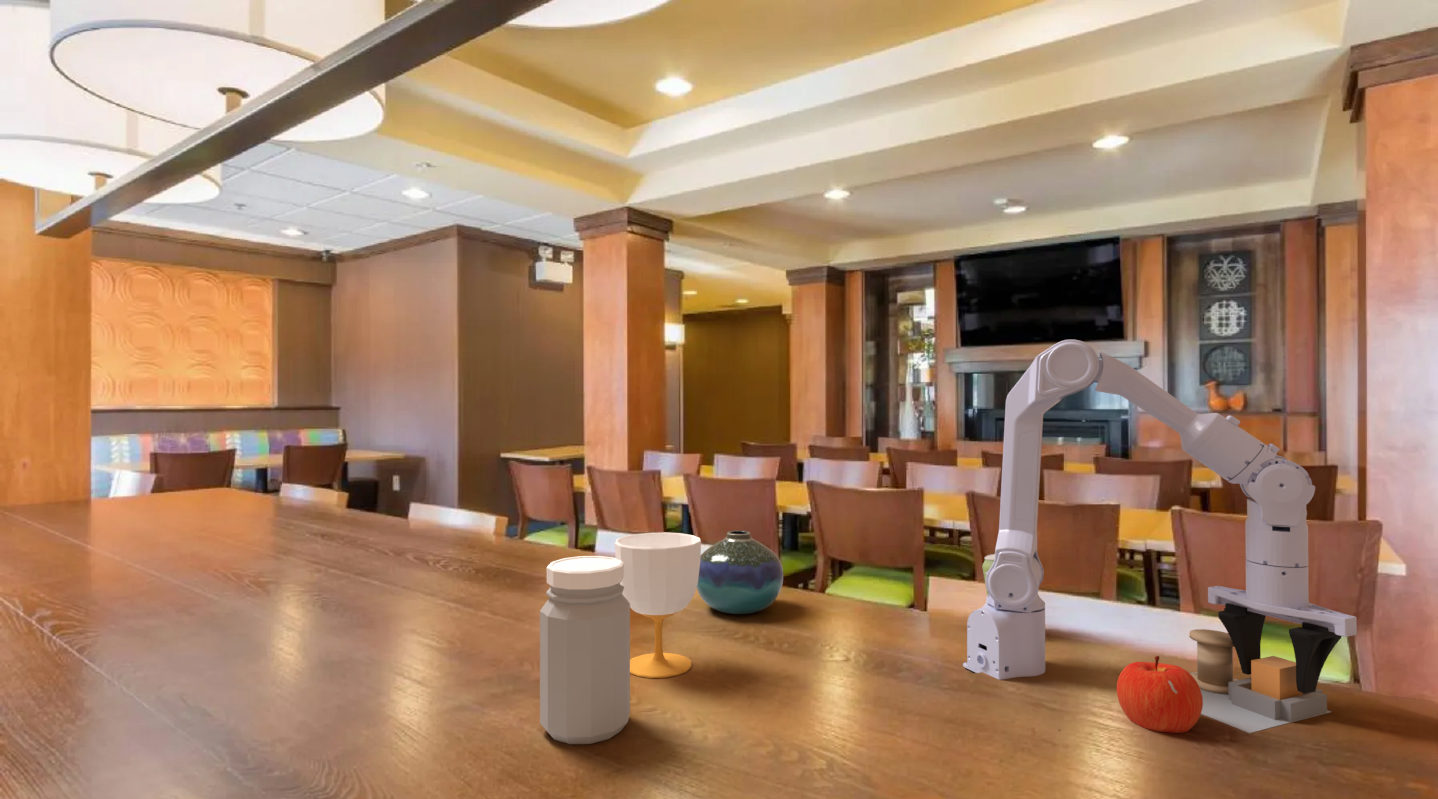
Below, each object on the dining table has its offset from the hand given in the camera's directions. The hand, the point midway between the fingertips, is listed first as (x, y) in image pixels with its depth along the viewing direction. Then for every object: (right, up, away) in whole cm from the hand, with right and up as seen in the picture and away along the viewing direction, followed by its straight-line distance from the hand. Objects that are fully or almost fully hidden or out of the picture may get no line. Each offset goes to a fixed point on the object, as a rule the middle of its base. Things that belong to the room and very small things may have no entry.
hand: (1277, 681), depth 83 cm
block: (0, -3, 0) cm, 3 cm away
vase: (-60, -4, +43) cm, 74 cm away
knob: (-3, -4, +6) cm, 8 cm away
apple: (-16, -4, -4) cm, 17 cm away
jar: (-79, -4, -3) cm, 79 cm away
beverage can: (-19, -4, +30) cm, 36 cm away
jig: (-4, -4, +2) cm, 6 cm away
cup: (-72, -4, +15) cm, 74 cm away
